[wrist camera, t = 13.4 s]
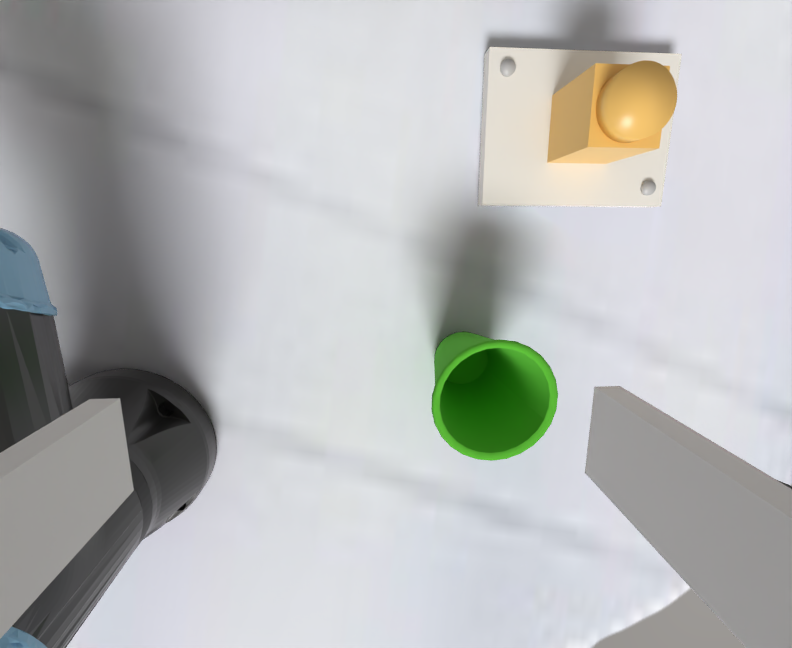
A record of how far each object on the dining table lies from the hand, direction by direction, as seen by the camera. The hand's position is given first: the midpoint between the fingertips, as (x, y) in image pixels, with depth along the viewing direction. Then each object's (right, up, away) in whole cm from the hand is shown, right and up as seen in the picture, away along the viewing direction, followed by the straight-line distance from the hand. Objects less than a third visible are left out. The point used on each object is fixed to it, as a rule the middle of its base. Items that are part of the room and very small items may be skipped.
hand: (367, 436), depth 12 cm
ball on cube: (+16, +19, +23) cm, 34 cm away
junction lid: (+16, +20, +24) cm, 35 cm away
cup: (+7, 0, +28) cm, 29 cm away
